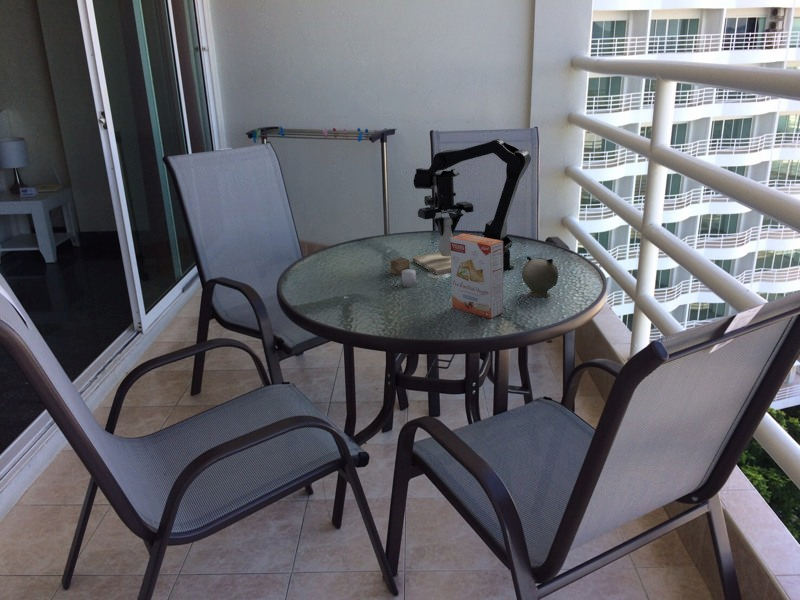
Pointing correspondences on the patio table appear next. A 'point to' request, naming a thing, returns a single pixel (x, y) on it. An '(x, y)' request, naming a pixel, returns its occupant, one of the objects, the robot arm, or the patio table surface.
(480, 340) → the patio table surface
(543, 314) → the patio table surface
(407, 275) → the white rounded cube
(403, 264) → the walnut block
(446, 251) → the salt shaker
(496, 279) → the cracker box
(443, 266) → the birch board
